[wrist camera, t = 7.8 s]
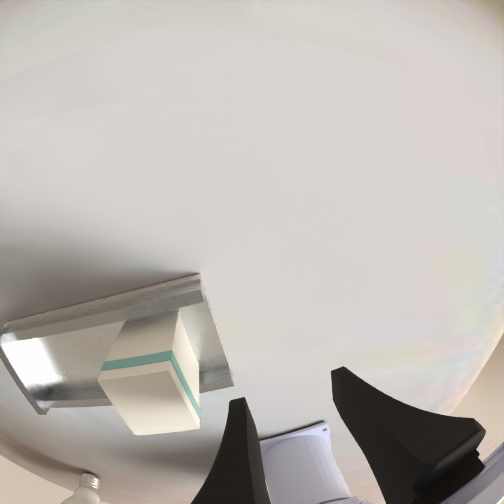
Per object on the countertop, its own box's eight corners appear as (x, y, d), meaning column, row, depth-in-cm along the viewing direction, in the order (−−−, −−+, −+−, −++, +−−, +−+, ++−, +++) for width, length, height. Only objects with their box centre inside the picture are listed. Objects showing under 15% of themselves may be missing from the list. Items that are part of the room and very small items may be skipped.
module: (199, 366, 19) (200, 428, 13) (147, 375, 18) (135, 436, 13) (178, 311, 17) (169, 369, 12) (122, 323, 17) (95, 379, 11)
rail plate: (231, 369, 20) (236, 397, 17) (50, 394, 19) (38, 415, 15) (200, 273, 18) (199, 293, 15) (7, 321, 16) (-12, 339, 13)
